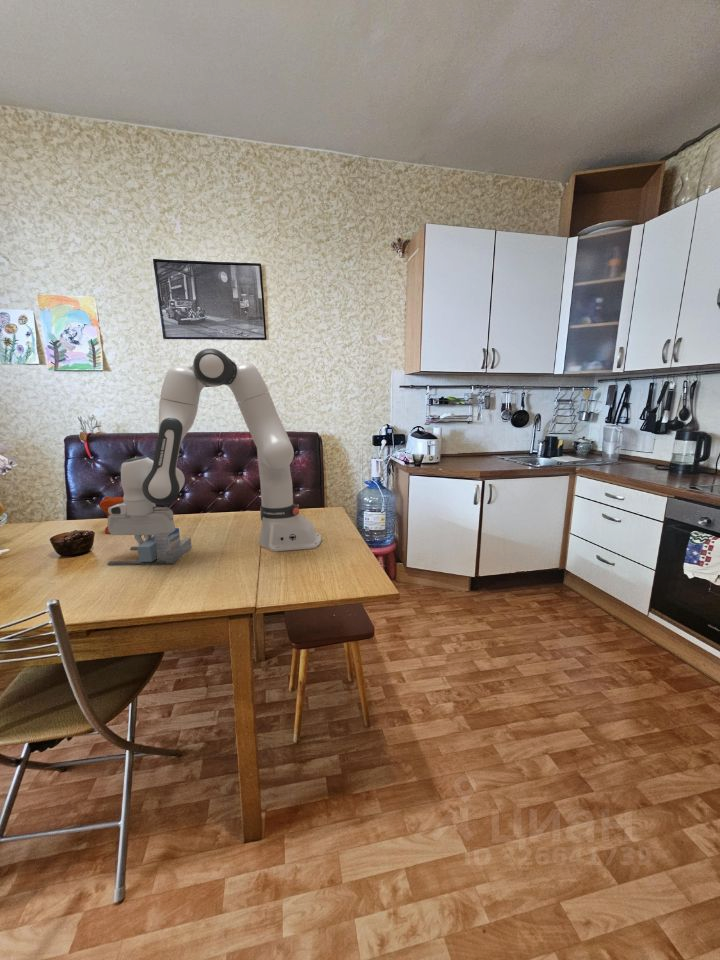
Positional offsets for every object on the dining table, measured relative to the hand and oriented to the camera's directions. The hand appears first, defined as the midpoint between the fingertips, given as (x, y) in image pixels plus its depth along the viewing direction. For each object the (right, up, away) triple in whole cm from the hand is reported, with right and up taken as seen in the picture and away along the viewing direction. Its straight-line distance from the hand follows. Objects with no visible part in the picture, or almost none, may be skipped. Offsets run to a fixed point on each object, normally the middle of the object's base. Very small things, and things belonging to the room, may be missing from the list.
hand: (144, 547), depth 128 cm
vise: (+2, -3, +1) cm, 4 cm away
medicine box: (+8, -3, +1) cm, 9 cm away
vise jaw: (+4, -2, 0) cm, 4 cm away
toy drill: (-20, +1, +24) cm, 31 cm away
